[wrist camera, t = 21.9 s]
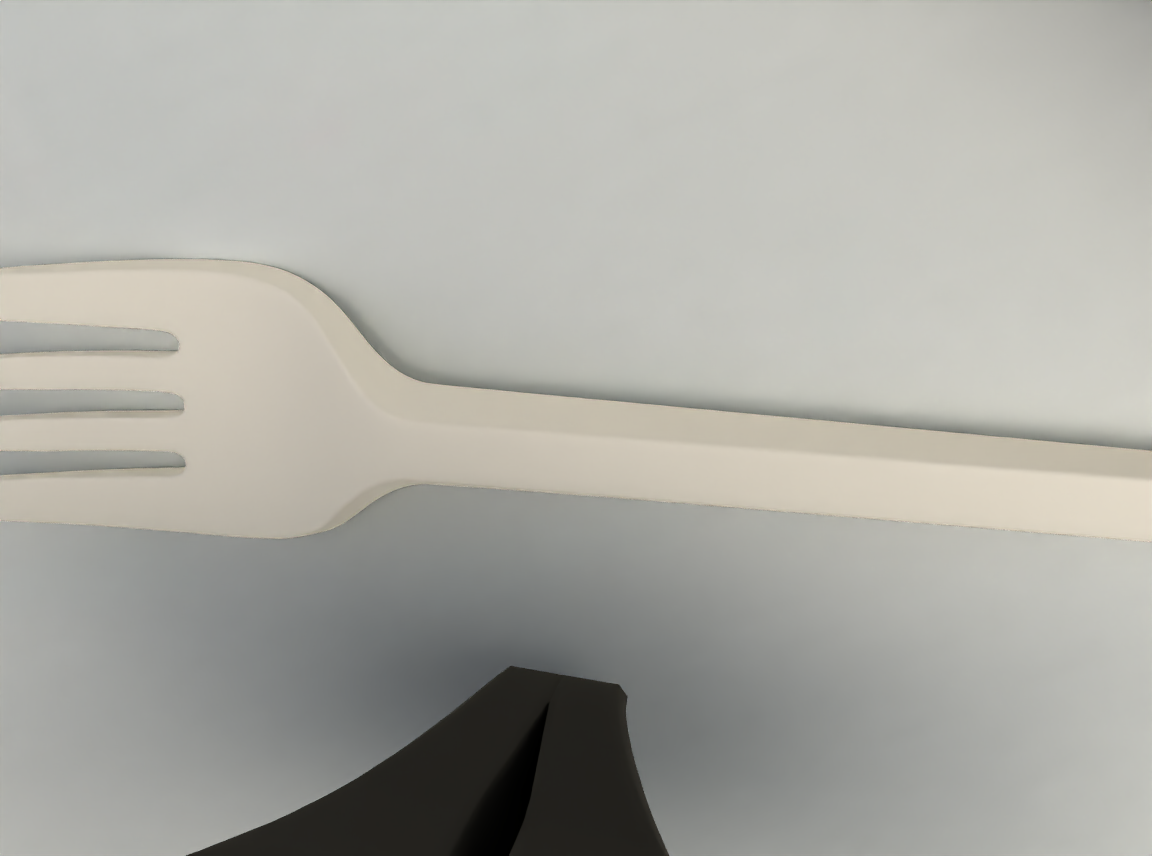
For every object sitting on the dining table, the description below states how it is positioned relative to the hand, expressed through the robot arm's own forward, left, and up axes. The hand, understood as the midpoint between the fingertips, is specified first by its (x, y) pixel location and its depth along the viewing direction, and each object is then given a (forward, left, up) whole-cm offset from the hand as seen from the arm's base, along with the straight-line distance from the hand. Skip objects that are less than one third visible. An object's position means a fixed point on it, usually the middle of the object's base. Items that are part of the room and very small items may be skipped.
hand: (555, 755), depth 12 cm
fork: (-1, +4, -1) cm, 4 cm away
